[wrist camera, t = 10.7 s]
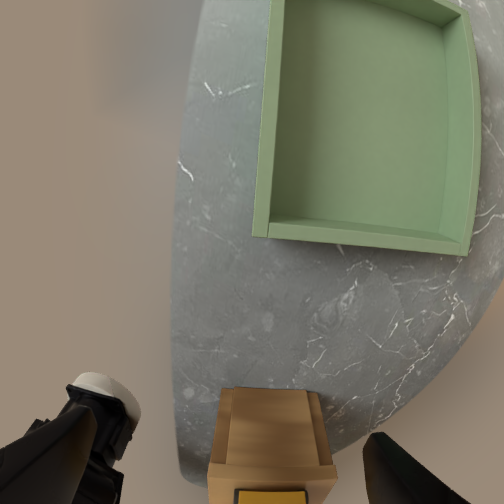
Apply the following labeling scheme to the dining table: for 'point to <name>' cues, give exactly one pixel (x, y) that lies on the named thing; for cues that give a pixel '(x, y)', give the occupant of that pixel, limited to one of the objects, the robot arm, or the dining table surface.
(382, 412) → the dining table surface
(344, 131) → the green box
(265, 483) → the oak stand
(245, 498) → the small car
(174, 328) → the dining table surface
